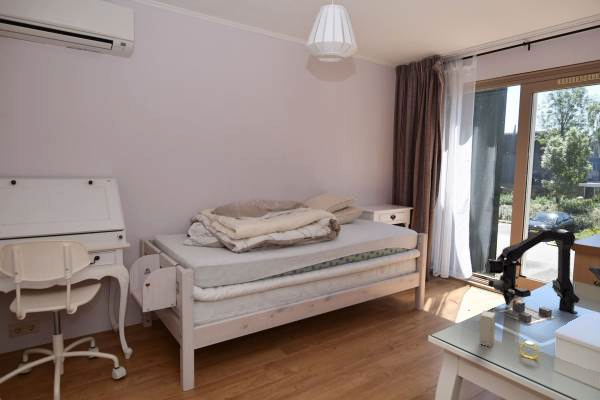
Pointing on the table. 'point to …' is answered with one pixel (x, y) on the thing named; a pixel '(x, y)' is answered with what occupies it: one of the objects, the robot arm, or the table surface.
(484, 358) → the table surface
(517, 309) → the block
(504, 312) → the panel
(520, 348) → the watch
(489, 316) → the skincare box
